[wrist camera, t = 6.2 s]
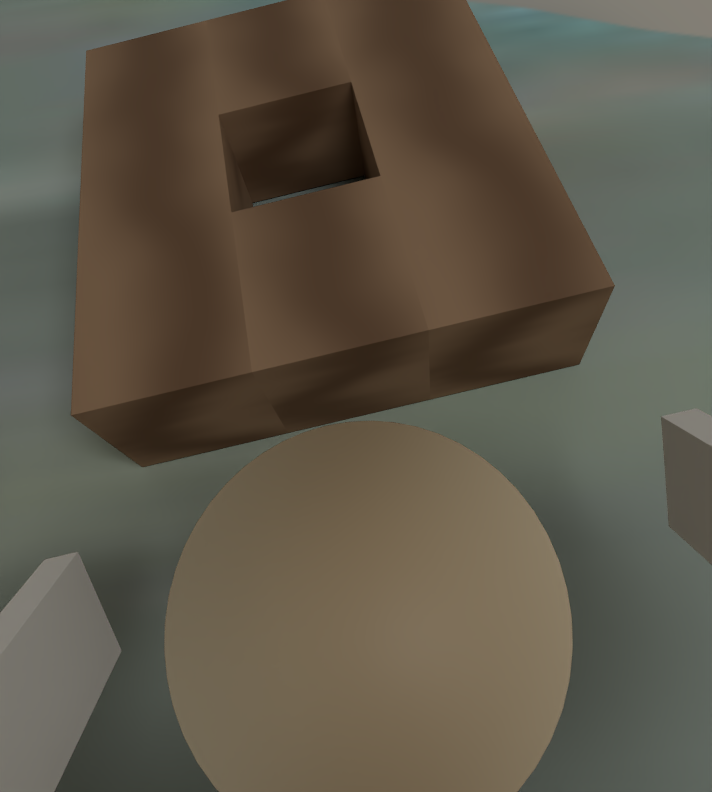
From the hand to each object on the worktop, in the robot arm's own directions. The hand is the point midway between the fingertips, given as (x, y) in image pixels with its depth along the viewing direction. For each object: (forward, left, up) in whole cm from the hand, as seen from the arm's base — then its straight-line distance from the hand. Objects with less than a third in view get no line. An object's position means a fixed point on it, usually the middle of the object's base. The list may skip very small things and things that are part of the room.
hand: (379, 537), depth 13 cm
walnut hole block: (0, +15, -6) cm, 16 cm away
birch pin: (0, -2, -6) cm, 6 cm away
